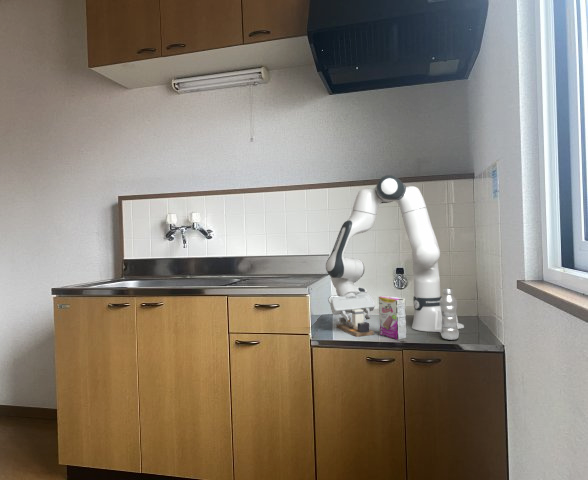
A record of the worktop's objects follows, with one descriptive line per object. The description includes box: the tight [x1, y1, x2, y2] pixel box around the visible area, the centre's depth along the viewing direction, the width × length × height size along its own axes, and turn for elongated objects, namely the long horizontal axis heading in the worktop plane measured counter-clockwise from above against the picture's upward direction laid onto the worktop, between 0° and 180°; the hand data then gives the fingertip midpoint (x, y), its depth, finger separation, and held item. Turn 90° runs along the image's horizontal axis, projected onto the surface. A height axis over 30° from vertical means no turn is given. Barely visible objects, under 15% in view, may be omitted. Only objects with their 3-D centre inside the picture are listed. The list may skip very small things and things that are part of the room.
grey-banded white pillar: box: [351, 309, 365, 330], centre depth 181 cm, size 4×3×8 cm
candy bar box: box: [378, 295, 408, 341], centre depth 172 cm, size 11×5×16 cm, turn 30°
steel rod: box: [344, 321, 370, 333], centre depth 185 cm, size 4×20×4 cm, turn 19°
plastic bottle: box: [440, 287, 460, 341], centre depth 164 cm, size 6×7×20 cm
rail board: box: [336, 316, 375, 338], centre depth 185 cm, size 8×20×4 cm, turn 19°
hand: (358, 319), depth 181 cm, fingers open, 8 cm apart
